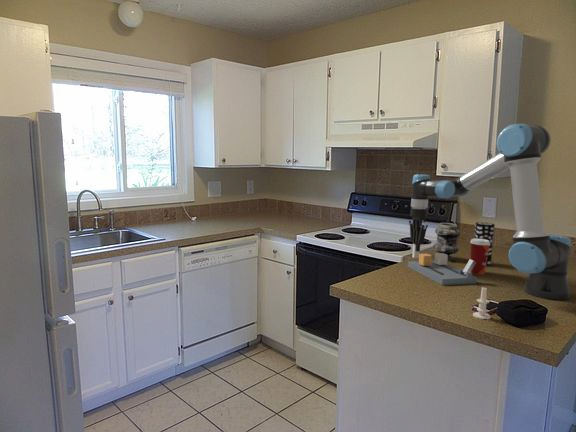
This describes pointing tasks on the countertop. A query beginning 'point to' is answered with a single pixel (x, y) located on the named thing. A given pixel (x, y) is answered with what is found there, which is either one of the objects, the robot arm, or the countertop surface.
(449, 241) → the apothecary jar
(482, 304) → the candle
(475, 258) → the coffee cup
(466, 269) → the paddle lever
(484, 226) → the white-spotted black cylinder
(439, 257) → the block
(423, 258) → the orange fader
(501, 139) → the robot arm
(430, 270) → the panel
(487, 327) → the countertop surface
